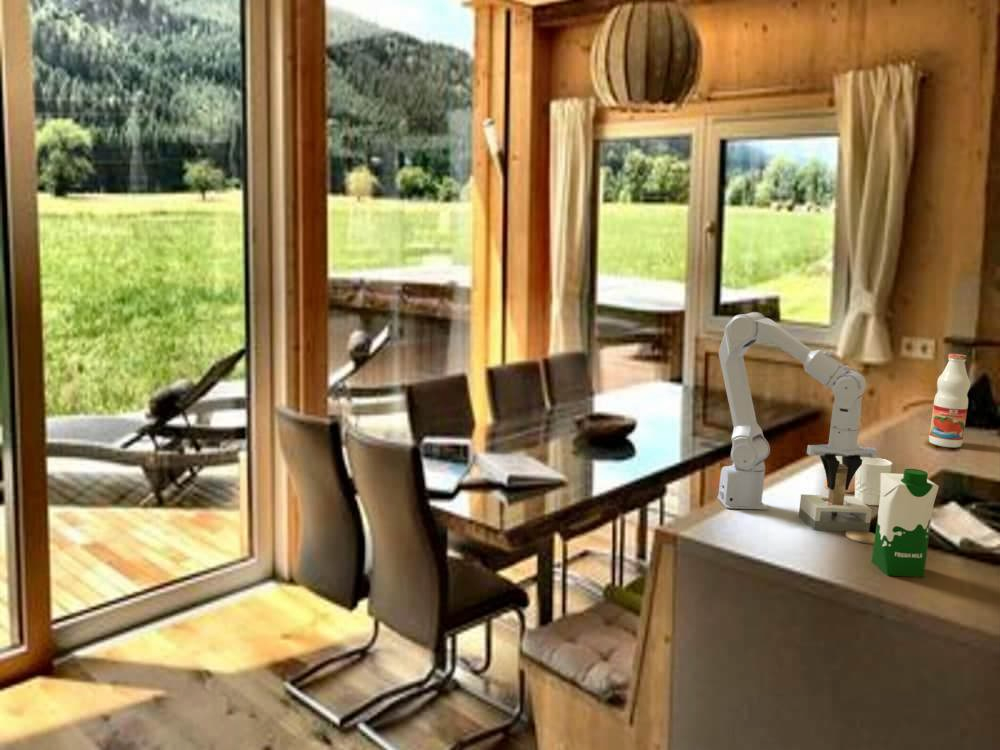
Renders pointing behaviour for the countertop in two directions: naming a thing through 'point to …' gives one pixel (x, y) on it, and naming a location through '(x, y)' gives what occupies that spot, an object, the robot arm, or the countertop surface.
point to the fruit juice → (950, 404)
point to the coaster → (861, 536)
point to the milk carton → (904, 523)
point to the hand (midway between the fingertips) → (837, 488)
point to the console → (845, 520)
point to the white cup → (870, 479)
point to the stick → (839, 486)
